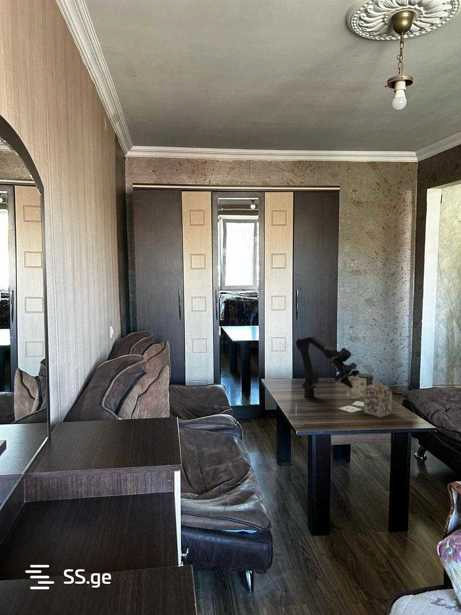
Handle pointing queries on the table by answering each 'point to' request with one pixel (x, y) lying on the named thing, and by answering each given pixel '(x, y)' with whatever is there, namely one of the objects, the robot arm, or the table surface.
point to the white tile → (350, 408)
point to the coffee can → (364, 382)
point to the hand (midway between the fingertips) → (354, 387)
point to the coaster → (358, 403)
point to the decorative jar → (378, 400)
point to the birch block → (355, 384)
